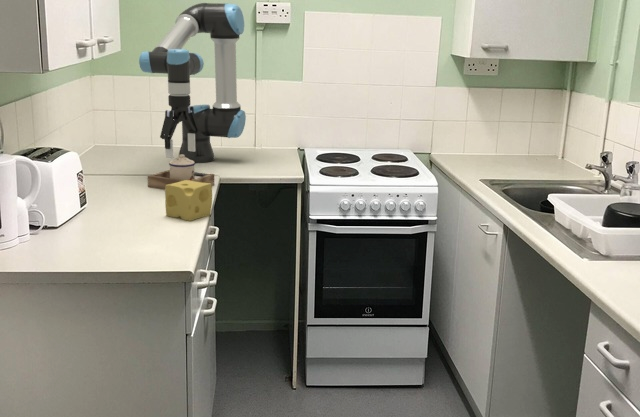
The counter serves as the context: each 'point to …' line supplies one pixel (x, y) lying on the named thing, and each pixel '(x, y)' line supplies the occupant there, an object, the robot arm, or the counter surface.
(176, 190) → the cheese
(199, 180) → the wooden tray
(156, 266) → the counter surface
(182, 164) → the teacup with lid
